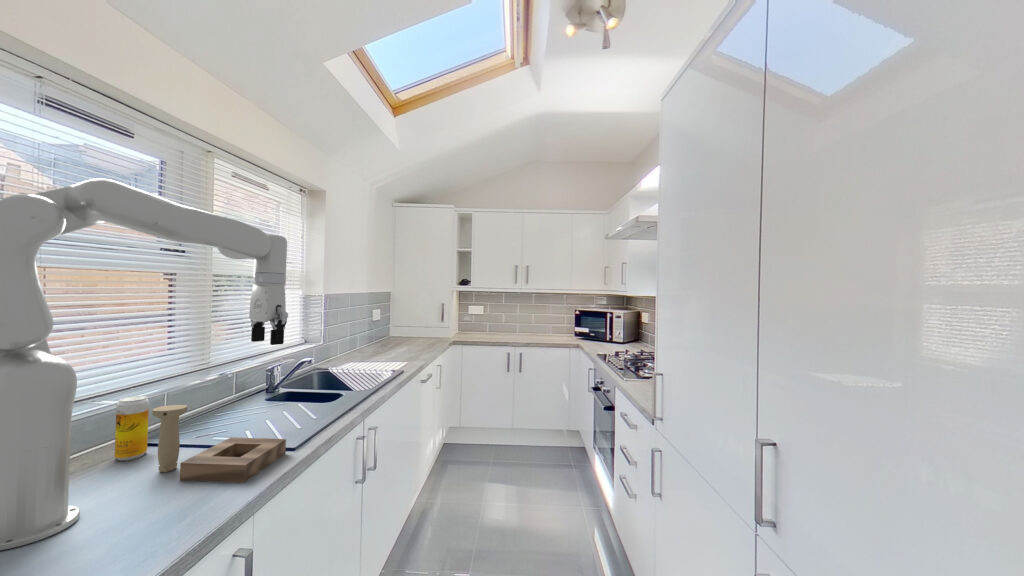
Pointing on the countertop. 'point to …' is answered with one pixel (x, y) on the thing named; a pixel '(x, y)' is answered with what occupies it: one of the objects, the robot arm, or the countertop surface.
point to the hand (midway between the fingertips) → (267, 342)
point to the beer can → (131, 427)
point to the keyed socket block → (233, 460)
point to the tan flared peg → (169, 435)
